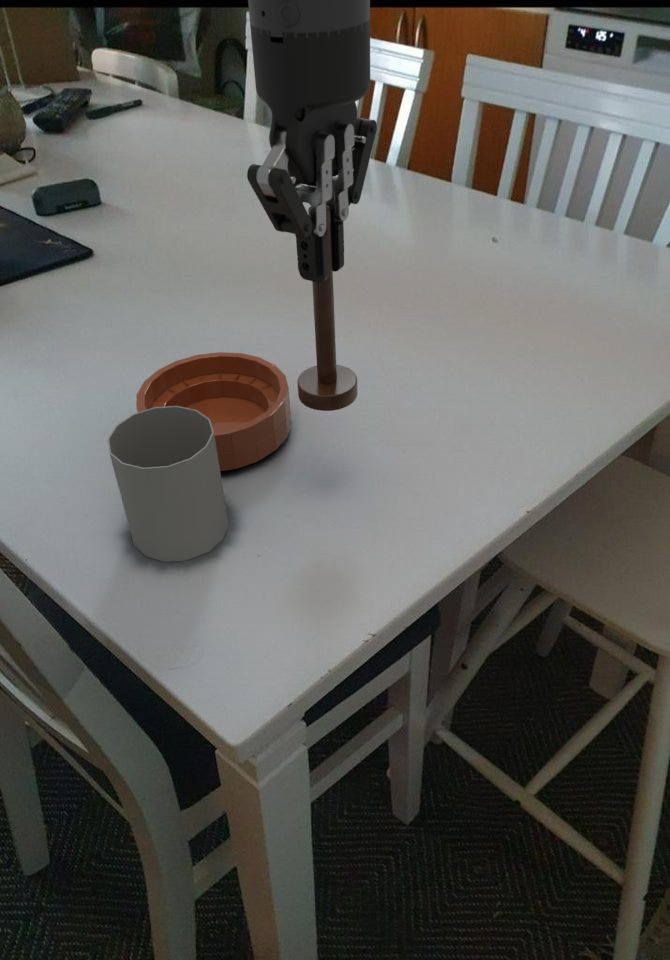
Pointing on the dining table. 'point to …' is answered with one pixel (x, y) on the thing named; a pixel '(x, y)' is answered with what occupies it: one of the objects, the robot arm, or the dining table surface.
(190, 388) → the bowl
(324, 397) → the upright rod on disc
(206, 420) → the cup
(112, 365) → the dining table surface
